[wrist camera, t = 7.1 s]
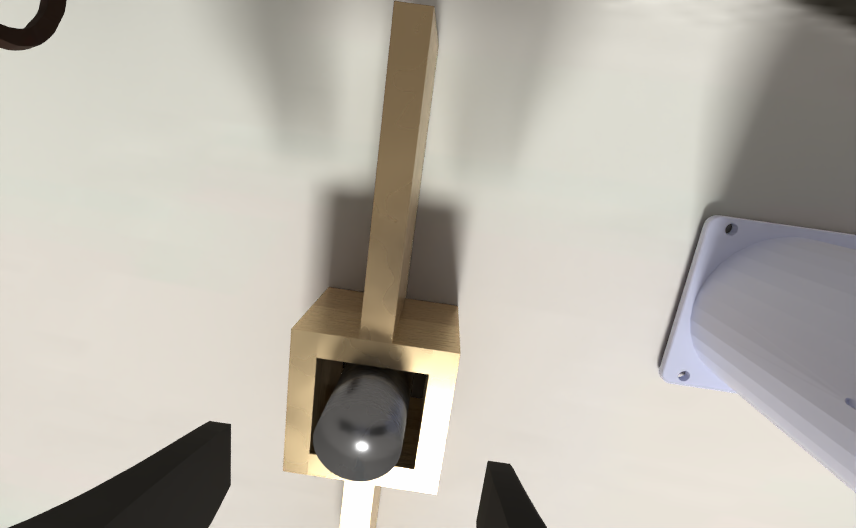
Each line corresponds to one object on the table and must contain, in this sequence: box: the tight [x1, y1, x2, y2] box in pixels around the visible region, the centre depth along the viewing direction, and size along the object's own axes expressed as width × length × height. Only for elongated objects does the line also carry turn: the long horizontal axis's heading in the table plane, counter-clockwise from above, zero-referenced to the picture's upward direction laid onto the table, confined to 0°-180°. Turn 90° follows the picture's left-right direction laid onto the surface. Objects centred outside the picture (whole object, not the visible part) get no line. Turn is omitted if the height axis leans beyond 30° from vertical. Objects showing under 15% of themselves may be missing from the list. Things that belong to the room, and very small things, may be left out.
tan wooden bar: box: [283, 1, 460, 528], centre depth 19 cm, size 6×28×5 cm, turn 172°
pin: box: [313, 362, 414, 482], centre depth 18 cm, size 3×3×7 cm
